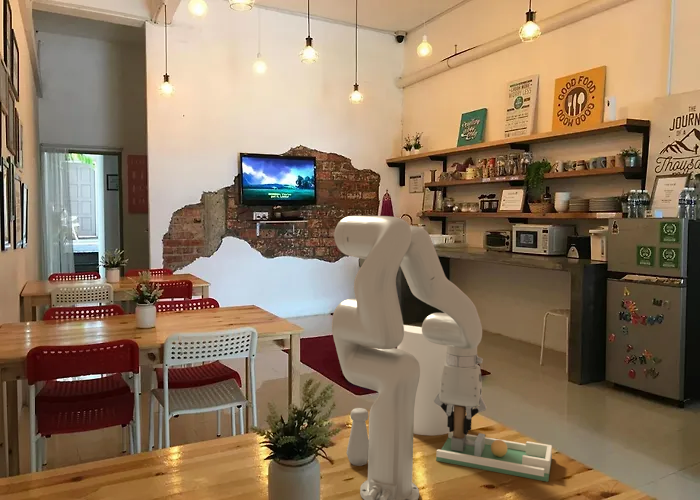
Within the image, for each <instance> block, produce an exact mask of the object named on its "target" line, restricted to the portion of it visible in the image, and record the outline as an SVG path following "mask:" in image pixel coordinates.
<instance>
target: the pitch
mask: <svg viewBox="0 0 700 500" xmlns="http://www.w3.org/2000/svg"><path fill="white" fill-rule="evenodd" d="M447 434H448V436H447V439H446V440H445V442H444V444H443V446H442V447H441V449H439V448H438V449H436V456H435V457H436V459H435V460H436V462H442V463H447V464H451V465H452V464H453V465H458V466H463V467H466V468H467V467H469V468H473V469H479V470H483V471H487V472H489V471H490V472H495V473H499V474H500V473H501V474H505V475H511V476H516V477H522V478H526V479H532V480H536V481H542V482H546V483H547V482H549V479H550V471H551V465H552V456H553V454H552V453H553V452H552V451H553V450H552V449H553V445H552V444H547V443H540V442H533V441H526V442H525V443H523V442H522V443H521V442H517V441H510V440H505V439H498V438H493V437H487V436H485V448H484V450H483V452H482V454H481V457H480V456H474V450H475V447H472V446H466V447H465V449H464V451H463V452H461V451H456V450H451V438H452V436H453V432H449V433H447ZM477 436H478V435H476V434H470V433H467V435H466V440H471V441H475V440H476V438H477ZM495 440H502V441H504V442H505V443H506V445H507V448H508V450H507V453H506V454H505V455H504V456H502V457H498V456H495V455H494V454H493V453H492V451H491V444H492V443H493V442H494V441H495Z"/></svg>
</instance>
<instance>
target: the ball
mask: <svg viewBox="0 0 700 500" xmlns="http://www.w3.org/2000/svg"><path fill="white" fill-rule="evenodd" d="M502 440H503V439H500V440H495V441H494V442H493V443H492V444H491V451H492V453H493V454H494V455H495V456H498V457H502V456H504V455H505V454H506V453H507V450H508V448H507V445H506V443H505V442H504V441H502Z"/></svg>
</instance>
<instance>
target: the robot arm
mask: <svg viewBox="0 0 700 500" xmlns="http://www.w3.org/2000/svg"><path fill="white" fill-rule="evenodd" d="M333 234H334V235H333V238H334V243H335V245H336V247H337V249H338V250H339V251H340V252H341V253H342V254H344V255H346V256H349V257H355V258H357V259H358V258H359V259H362V260H364V261H363V263H362V264H361V266H360V268H359V269H358V271H357V272H356V275H355V278H354V282H353V290H354V291H353V292H354V296H355V298H347V299H344V300H342V301H341V302H339V304H337V306H336V308H335V309H334V312H333V314H332V317H331V318H332V319H331V332H332V336H333V342H334V344H335V348H336V349H335V350H336V353H337V357H338V360H339V361H338V362H339V364H340V369H341V371H342V374H343V376H344V377H345V379H346V380H347V381H348V382H349V383H351V385H352V384H353V385H355V386H358V387H361V388H365V389H369V390H372V391H376V392H377V393H378V397H377V398H376V399H375V400H374V402H373V403H372V405H371V407H370V409H369V412H368V440H369V449H368V461H367V479H366V480H364V482H363V483H362V484H361V485H360V487H359V490H360V491H359V493H360V496H361V498H362V499H363V500H419V497H420V489H419V488H418V486H417V485H416V484H415V483H414V482H413V468H414V467H413V466H414V465H413V463H414V434H413V432H414V406H415V397H416V391H417V387H418V382H419V377H420V366H419V363H418V361H417V359H416V358H415V357H414V356H413V355H412V354H410V353H408V352H406V351H403V350H400V349H397V346H399V345H400V343H401V342H402V340H403V337H404V325H405V324H404V320H403V314H402V310H401V306H400V299H399V297H398V296H399V294H398V289H397V274H398V272H399V270H400V269H401V271H402V273H403V275H404V278H405V279H406V280H405V281H406V282H407V285H408V286H409V289H410V292H411V293H412V295H413V296H414V297H415V298H417V299H418V300H420V301H421V302H423V303H425V304H426V305H429V306H430V307H433V308H435V309H437V310H439V311H441V312H433V313H430V314H429V315H428V316H426V317H425V318H424V320H423V322H422V325H421V327H422V333H423V336H424V337H425V338H426V339H427V340H428V341H430V342H432V343H435V344H440V345H446V346H447V356H446V362H445V363H444V365H443V370H442V375H441V383H440V392H439V394H438V395H437V397H436V398H435V400H434V402H435V403H436V404H437V405H439V406H440V407H441V408H442V409H443V410H444V411H445V412H446V415H447V416H448V423H447V427H449V432H453V421H454V412H453V409H454V405H458V406H465V407H466V418H465V419H464V434H465V435H467V434H469V431H470V432H471V430H472V418H473V417H474V416H476V415H477V414H479V413H482V412H484V411H486V410H487V407H488V406H487V405H486V403H485V401H484V398H483V386H482V385H483V383H482V372H481V367H480V365H479V364H483V361H484V359H483V357H480V356H478V346H479V345H480V343H481V342H482V339H483V327H482V326H483V325H482V322H481V318H480V316H479V313H478V309H477V307H476V305H475V304H474V303H473V301H472V300H471V298H470V297H468V295H467V294H466V293H464V291H462V290H461V289H460V288H459V287H458V286H457V285H456V284H455V283H453V282H452V281H451V280H449V279H448V278H447V276H446V274H445V272H444V269H443V266H442V264H441V262H440V259H439V256H438V254H437V251H436V248H435V245H434V243H433V241H432V238H431V235H430V234H429V232H428V231H427V230H426V229H424V228H423V227H420V226H417V225H409V223H408V222H407V221H406V220H404V219H402V218H401V217H396V216H390V215H389V216H388V215H348V216H345V217H344V218H342V219H341V220H340V221H338V223H337V224H336V227H335V229H334V233H333Z"/></svg>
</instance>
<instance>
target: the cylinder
mask: <svg viewBox="0 0 700 500" xmlns="http://www.w3.org/2000/svg"><path fill="white" fill-rule="evenodd" d="M403 325H404V337H403V340H402V342H401V343H400V345H399V346H397V347H396V349H400V350H403V351H406V352H408V353H410V354H412V355H413V356H414V357H415V358H416V359H417V361H418V363H419V366H420V377H419V382H418V387H417V391H416V397H415V406H414V432H413V435H419V436H441V435H442V436H443V435H446V434H448V433H449V427H447V423H448V416H447V415H446V412H445V411H444V410H443V409H442V408H441V407H440V406H439V405H437V404H436V403H435V402H434V400H435V398H436V397H437V395H438V394H439V392H440V383H441V375H442V370H443V365H444V363H445V362H446V356H447V346H446V345H440V344H435V343H432V342H430V341H428V340H427V339H426V338H425V337H424V336H423V333H422V326H415V325H408V324H403ZM453 412H454V409H453Z"/></svg>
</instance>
